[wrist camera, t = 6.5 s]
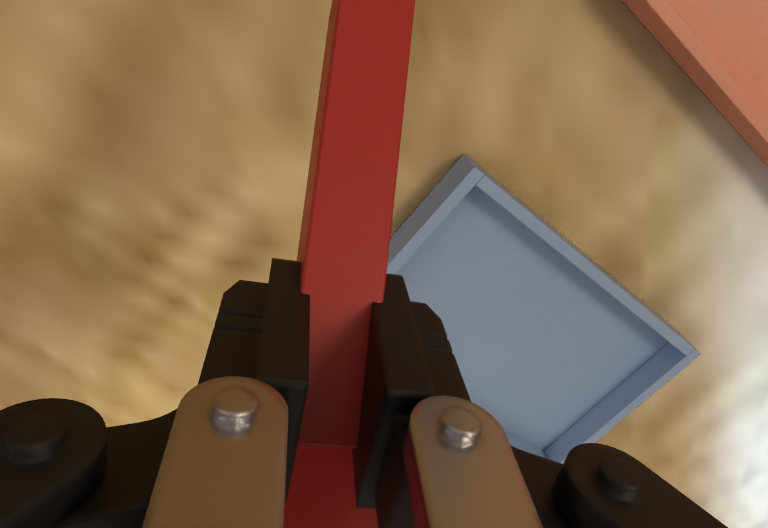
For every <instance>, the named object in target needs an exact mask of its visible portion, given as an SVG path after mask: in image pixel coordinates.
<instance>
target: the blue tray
mask: <svg viewBox="0 0 768 528" xmlns="http://www.w3.org/2000/svg"><path fill="white" fill-rule="evenodd" d="M387 273H388V274H396V275H402V276H403V278H404V281H405V285H406V288H407V292H408V295H409V299H410V301H412V302H420V303H426V304H427V305H428V306H429V307H430V308H431V309H432V310H433V311H434V312H435V313H436V314H437V315H438V316H439V317H440V318H441V320H442V323H443V325H444V328H445V331H446V334H447V340H449V342H450V345H451V347H452V350H453V351H452V354H454V356H455V358H456V361H457V364H458V367H459V369H460V372H461V375H462V378H463V380H464V383H465V386H466V389H467V391H468V394H469V397H470V400H471V402H473V403H475V404H476V405H478V406H480V407H482V408H483V409H485V410H486V411H488V412H489V413H490V414H491V415H492V416H493V417H494V418H495V419H496V420H497V421H498V422H499V423H500V425H501V426H502V428H503V430H504V432H505V434H506V436H507V439H508V441H509V444H510V445H511V446H513V447H515V448H518V449H520V450H523V451H525V452H528V453H531V454H534V455H538V456H541V457H544V458H547V459H550V460H553V461H556V462H559V463H562V464H563V463H564V461H565V459H566V457H567V455H568V453H569V451H570V450H571V449H572V448H573V447H575V446H577V445H580V444H584V443H595V442H596V441H598V440H599V439H600V438H601V437H602V436H604V435H605V434H606V433H607V432H608V431H609V430H611V429H612V428H613V427H614V426H615V425H617V424H618V423H619V422H620V421H621V420H623V419H624V418H625V417H626V416H627V415H629V414H630V413H631V412H632V411H633V410H635V409H636V408H637V407H638V406H639V405H641V404H642V403H643V402H644V401H645V400H647V399H648V398H649V397H650V396H651V395H653V394H654V393H655V392H656V391H657V390H658V389H660V388H661V387H662V386H663V385H664V384H666V383H667V382H668V381H669V380H670V379H672V378H673V377H674V376H675V375H676V374H678V373H679V372H680V371H681V370H682V369H684V368H685V367H686V366H687V365H688V364H690V363H691V362H692V361H693V360H694V359H696V358H697V357H698V356H699V355H700V352H699V351H698V350H697V349H696V348H695V347H694V346H693V345H692V344H691V343H689V342H688V341H687V340H686V339H685V338H684V337H683V336H682V335H681V334H680V333H679V332H678V331H677V330H676V329H674V328H673V327H672V326H671V325H670V324H668V323H667V322H666V321H665V320H664V319H662V318H661V317H660V316H659V315H658V314H656V313H655V312H654V311H653V310H652V309H650V308H649V307H648V306H647V305H646V304H644V303H643V302H642V301H641V300H640V299H638V298H637V297H636V296H635V295H634V294H632V293H631V292H630V291H629V290H628V289H626V288H625V287H624V286H623V285H622V284H620V283H619V282H618V281H617V280H616V279H614V278H613V277H612V276H611V275H610V274H608V273H607V272H606V271H605V270H604V269H602V268H601V267H600V266H599V265H598V264H596V263H595V262H594V261H593V260H591V259H590V258H589V257H588V256H587V255H585V254H584V253H583V252H582V251H581V250H579V249H578V248H577V247H576V246H575V245H573V244H572V243H571V242H570V241H569V240H567V239H566V238H565V237H564V236H563V235H561V234H560V233H559V232H558V231H557V230H555V229H554V228H553V227H552V226H551V225H549V224H548V223H547V222H546V221H545V220H543V219H542V218H541V217H540V216H539V215H537V214H536V213H535V212H534V211H533V210H531V209H530V208H529V207H528V206H527V205H525V204H524V203H523V202H522V201H521V200H519V199H518V198H517V197H516V196H515V195H513V194H512V193H511V192H510V191H509V190H507V189H506V188H505V187H504V186H503V185H501V184H500V183H499V182H498V181H496V180H495V179H494V178H493V177H492V176H490V175H489V174H488V173H487V172H486V171H484V170H483V169H482V168H481V167H480V166H478V165H477V164H476V163H475V162H474V161H472V160H471V159H470V158H469V157H468V156H466V155H465V154H463V155H462V156H461V158H460V159H459V160H458V161H457V162H456V163H455V165H454V166H453V167H452V168H451V169H450V170H449V171H448V173H447V174H446V175H445V176H444V177H443V178H442V180H441V181H440V182H439V183H438V184H437V185H436V186H435V188H434V189H433V190H432V191H431V192H430V193H429V195H428V196H427V197H426V198H425V199H424V200H423V201H422V203H421V204H420V205H419V206H418V207H417V208H416V210H415V211H414V212H413V213H412V214H411V215H410V216H409V218H408V219H407V220H406V221H405V222H404V223H403V225H402V226H401V227H400V228H399V229H398V230H397V232H396V233H395V234H394V235H393V236H392V237H391V238H390V245H389V254H388V264H387Z"/></svg>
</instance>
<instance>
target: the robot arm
mask: <svg viewBox="0 0 768 528" xmlns="http://www.w3.org/2000/svg"><path fill="white" fill-rule="evenodd" d="M300 272H301V262H299V261H292V260H284V259H277V258H272V263H271V270H270V276H269V283H260V282H252V281H244V280H239V281H238V282H237V283H235V284H234V285H233V286H232V287H231V288H229V289H228V290H227V291H226V292H224V294H223V298H222V301H221V305H220V308H219V313H218V315H217V319H216V322H215V327H214V329H213V333H212V336H211V340H210V343H209V347H208V350H207V354H206V357H205V361H204V364H203V368H202V371H201V375H200V379H199V382H198V385H197V386H195V387H194V388H192V389H191V390H190V391H189V392H188V393H186V394H185V396H184V397H183V398H182V400H181V402H180V404H179V406H178V408H177V409H176V410H174V411H172V412H170V413H168V414H166V415H164V416H161V417H159V418H155V419H152V420H149V421H144V422H139V423H133V424H126V425H120V426H113V427H107V428H106V425H105V422H104V420H103V418H102V417H101V416H100V414H99V413H98V412H97V411H95V410H94V409H93V408H92V407H90V406H88V405H86V404H84V403H80V402H77V401H74V400H68V399H58V398H49V399H38V400H31V401H27V402H22V403H18V404H16V405H13V406H10V407H7V408H5V409H3V410H0V528H283V523H284V504H287V498H288V493H289V488H290V482H291V477H292V472H293V466H294V461H295V456H296V450H297V445H298V440H299V434H300V429H301V424H302V418H303V413H304V408H305V402H306V397H307V392H308V386H309V344H310V295H309V294H303V293H301V292H300ZM452 351H453V350H452V347H451V345H450V342H449V340H447V334H446V331H445V328H444V325H443V323H442V320H441V318H440V317H439V316H438V315H437V314H436V313H435V312H434V311H433V310H432V309H431V308H430V307H429V306H428V305H427V304H426V303H420V302H412V301H410V299H409V295H408V292H407V288H406V285H405V281H404V278H403V276H402V275H396V274H388V273H386V283H385V292H384V301H383V302H382V303H377V302H372V308H371V318H370V327H369V337H368V346H367V356H366V365H365V374H364V384H363V393H362V403H361V412H360V422H359V431H358V440H357V448H356V449H352V456H353V469H354V482H355V495H356V508H373V509H376V513H377V522H378V527H377V528H728V527H726V526H725V525H724V524H722V523H721V522H720V521H718V520H717V519H716V518H714V517H713V516H712V515H710V514H709V513H708V512H706V511H705V510H704V509H702V508H701V507H700V506H698V505H697V504H696V503H694V502H693V501H692V500H690V499H689V498H688V497H686V496H685V495H684V494H682V493H681V492H680V491H678V490H677V489H676V488H674V487H673V486H672V485H670V484H669V483H668V482H666V481H665V480H664V479H662V478H661V477H659V476H658V475H657V474H655V473H654V472H653V471H651V470H650V469H649V468H647V467H646V466H645V465H643V464H642V463H641V462H639V461H638V460H636V459H635V458H633V457H632V456H630V455H628V454H627V453H625V452H623V451H620V450H618V449H616V448H613V447H610V446H607V445H603V444H597V443H584V444H580V445H577V446H575V447H573V448H572V449H571V450H570V451H569V453H568V455H567V457H566V459H565V461H564V463H563V464H562V463H559V462H556V461H553V460H550V459H547V458H544V457H541V456H538V455H534V454H531V453H528V452H525V451H523V450H520V449H518V448H515V447H513V446H511V445H510V444H509V441H508V439H507V436H506V434H505V432H504V430H503V428H502V426H501V425H500V423H499V422H498V421H497V420H496V419H495V418H494V417H493V416H492V415H491V414H490V413H489V412H488V411H486V410H485V409H483V408H482V407H480V406H478V405H476V404H475V403H473V402H471V400H470V397H469V394H468V391H467V389H466V386H465V383H464V380H463V378H462V375H461V372H460V369H459V367H458V364H457V361H456V358H455V356H454V354H452Z"/></svg>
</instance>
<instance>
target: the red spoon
mask: <svg viewBox="0 0 768 528" xmlns="http://www.w3.org/2000/svg"><path fill="white" fill-rule="evenodd" d="M414 8H415V0H333V1H332V6H331V11H330V16H329V23H328V31H327V38H326V46H325V53H324V61H323V68H322V76H321V83H320V91H319V98H318V106H317V113H316V121H315V128H314V136H313V143H312V151H311V158H310V166H309V173H308V180H307V188H306V195H305V203H304V210H303V218H302V225H301V233H300V240H299V248H298V255H297V261H299V262H301V272H300V292H301V293H303V294H309V295H310V344H309V386H308V392H307V397H306V402H305V408H304V413H303V418H302V424H301V429H300V434H299V440H298V445H297V450H296V456H295V461H294V466H293V472H292V477H291V482H290V488H289V493H288V498H287V504H284V523H283V528H377V527H378V522H377V513H376V509H373V508H356V495H355V482H354V469H353V456H352V449H356V448H357V440H358V431H359V422H360V412H361V403H362V393H363V384H364V374H365V365H366V356H367V346H368V337H369V327H370V318H371V308H372V302H377V303H382V302H383V301H384V292H385V283H386V273H387V264H388V254H389V245H390V235H391V226H392V216H393V207H394V197H395V188H396V178H397V169H398V159H399V150H400V140H401V131H402V121H403V112H404V102H405V93H406V84H407V74H408V65H409V55H410V46H411V36H412V27H413V17H414Z"/></svg>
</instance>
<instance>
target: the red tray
mask: <svg viewBox="0 0 768 528" xmlns="http://www.w3.org/2000/svg"><path fill="white" fill-rule="evenodd" d="M622 1H623V2H624V3H625V4H626V5H627V6H628V8H629V9H630V10H631V11H632V12H633V13H634V14H635V16H636V17H637V18H638V19H639V20H640V21H641V22H642V24H643V25H644V26H645V27H646V28H647V29H648V30H649V32H650V33H651V34H652V35H653V36H654V37H655V38H656V40H657V41H658V42H659V43H660V44H661V45H662V46H663V47H664V49H665V50H666V51H667V52H668V53H669V54H670V55H671V57H672V58H673V59H674V60H675V61H676V62H677V63H678V65H679V66H680V67H681V68H682V69H683V70H684V71H685V73H686V74H687V75H688V76H689V77H690V78H691V79H692V81H693V82H694V83H695V84H696V85H697V86H698V87H699V89H700V90H701V91H702V92H703V93H704V94H705V95H706V97H707V98H708V99H709V100H710V101H711V102H712V103H713V105H714V106H715V107H716V108H717V109H718V110H719V111H720V112H721V114H722V115H723V116H724V117H725V118H726V119H727V120H728V122H729V123H730V124H731V125H732V126H733V127H734V128H735V130H736V131H737V132H738V133H739V134H740V135H741V136H742V138H743V139H744V140H745V141H746V142H747V143H748V144H749V146H750V147H751V148H752V149H753V150H754V151H755V152H756V154H757V155H758V156H759V157H760V158H761V159H762V160H763V162H764V163H765V164H766V165H767V166H768V0H622Z"/></svg>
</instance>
